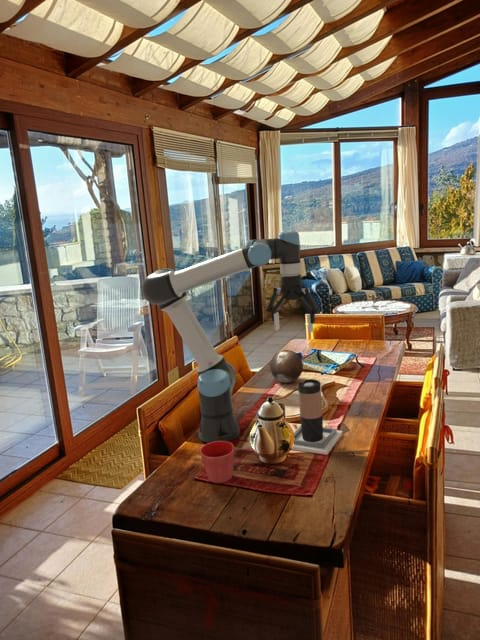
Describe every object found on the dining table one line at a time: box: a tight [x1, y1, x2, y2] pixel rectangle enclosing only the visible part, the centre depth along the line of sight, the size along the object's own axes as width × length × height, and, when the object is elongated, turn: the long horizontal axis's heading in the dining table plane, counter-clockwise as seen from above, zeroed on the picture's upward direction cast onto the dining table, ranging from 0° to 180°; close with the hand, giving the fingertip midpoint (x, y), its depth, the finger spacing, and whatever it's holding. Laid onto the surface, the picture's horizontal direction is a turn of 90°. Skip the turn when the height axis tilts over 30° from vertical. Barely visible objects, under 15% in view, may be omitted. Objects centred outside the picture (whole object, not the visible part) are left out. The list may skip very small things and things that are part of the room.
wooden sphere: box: [269, 349, 304, 384], centre depth 238 cm, size 15×15×15 cm
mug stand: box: [292, 424, 343, 456], centre depth 179 cm, size 16×16×2 cm
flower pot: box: [199, 441, 235, 484], centre depth 161 cm, size 11×11×10 cm
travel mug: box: [297, 379, 324, 442], centre depth 177 cm, size 8×8×20 cm
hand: (293, 330), depth 194 cm, fingers open, 13 cm apart
